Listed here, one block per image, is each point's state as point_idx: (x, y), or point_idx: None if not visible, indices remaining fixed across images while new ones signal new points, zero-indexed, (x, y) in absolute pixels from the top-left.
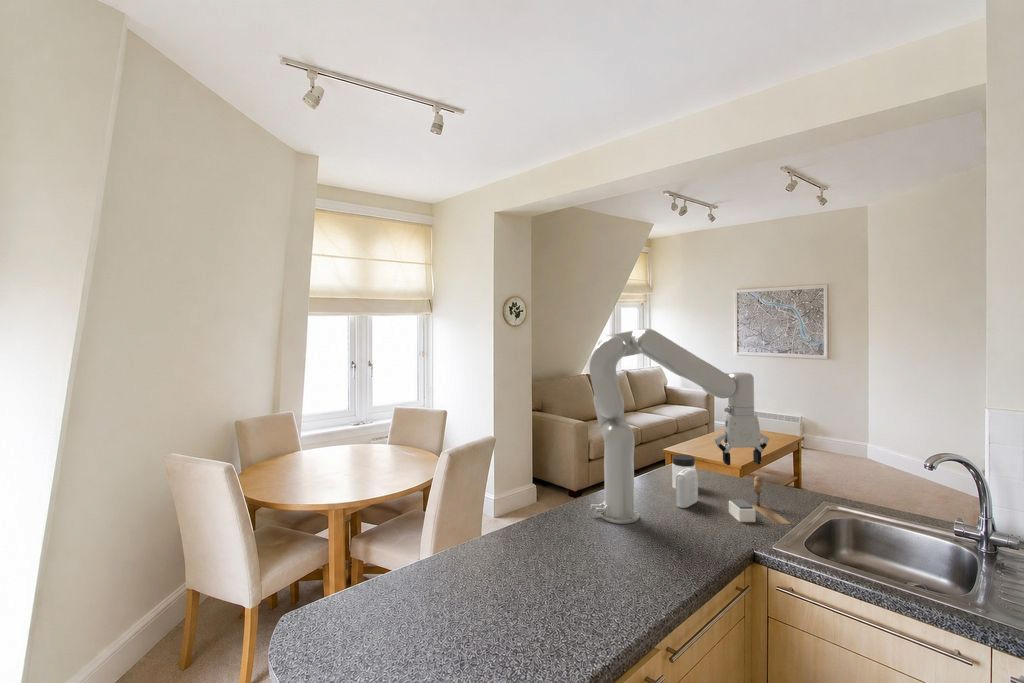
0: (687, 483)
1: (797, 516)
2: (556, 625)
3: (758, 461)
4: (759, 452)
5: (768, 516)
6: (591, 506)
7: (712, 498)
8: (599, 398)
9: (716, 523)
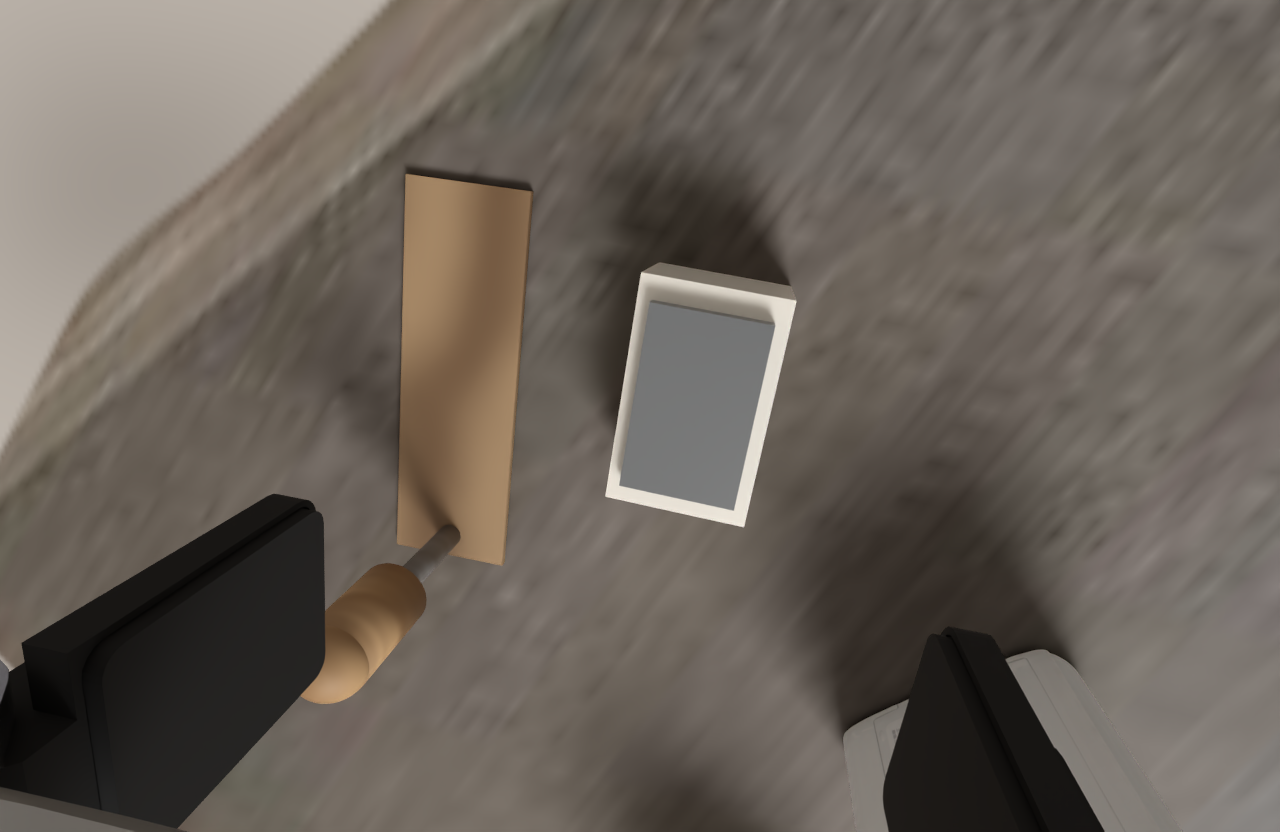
0: (1116, 824)
1: (280, 308)
2: None
3: (276, 529)
4: (50, 645)
5: (494, 337)
6: None
7: (686, 750)
8: None
9: (995, 315)
